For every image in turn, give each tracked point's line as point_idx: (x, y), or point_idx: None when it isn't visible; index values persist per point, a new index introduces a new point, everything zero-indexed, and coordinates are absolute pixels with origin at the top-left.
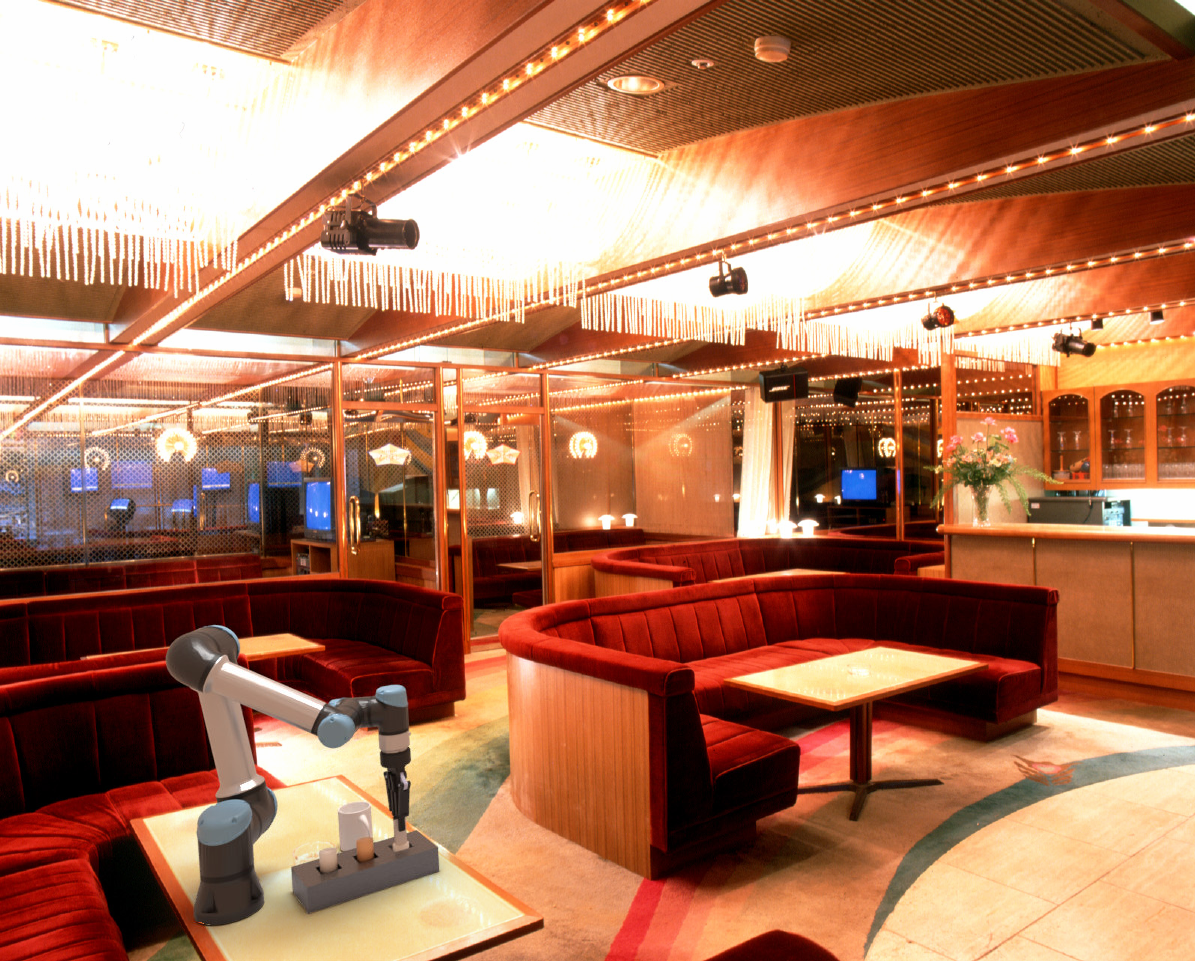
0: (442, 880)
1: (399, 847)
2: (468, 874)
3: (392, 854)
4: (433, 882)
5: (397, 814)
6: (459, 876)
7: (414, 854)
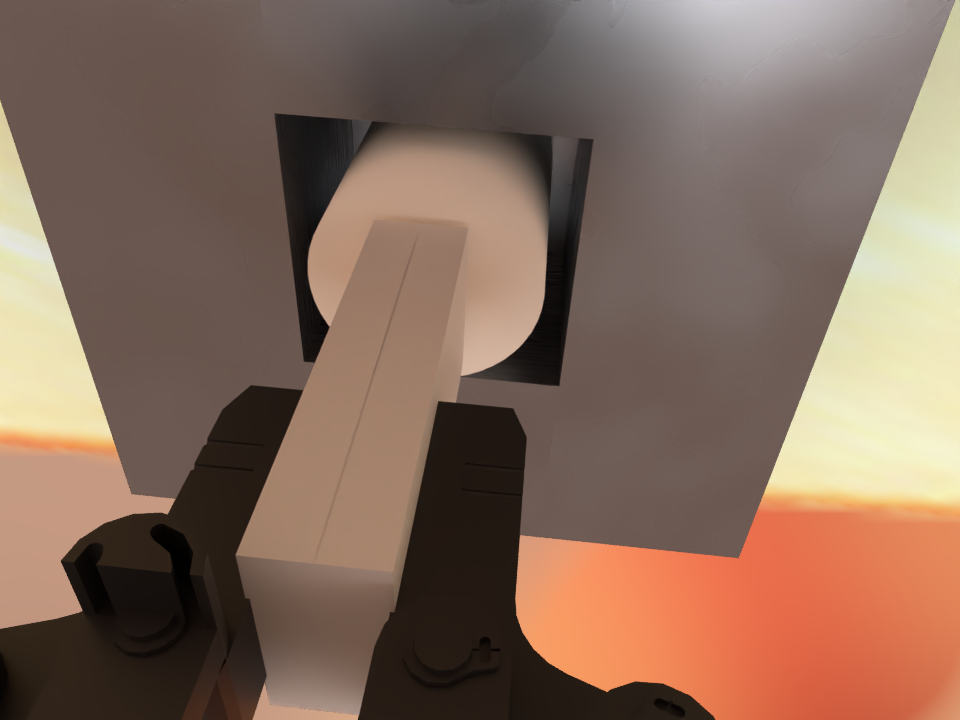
0: (31, 279)
1: (322, 218)
2: (49, 435)
3: (212, 49)
4: (25, 214)
5: (53, 689)
6: (44, 387)
7: (57, 266)
